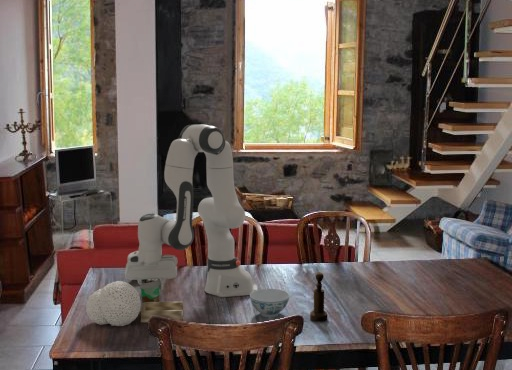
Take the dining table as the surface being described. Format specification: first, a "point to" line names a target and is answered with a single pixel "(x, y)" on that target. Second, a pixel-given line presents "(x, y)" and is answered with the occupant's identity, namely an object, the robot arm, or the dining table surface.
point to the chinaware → (269, 301)
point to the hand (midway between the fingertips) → (151, 289)
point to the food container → (150, 290)
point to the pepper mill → (318, 301)
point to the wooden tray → (161, 310)
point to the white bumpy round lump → (114, 304)
